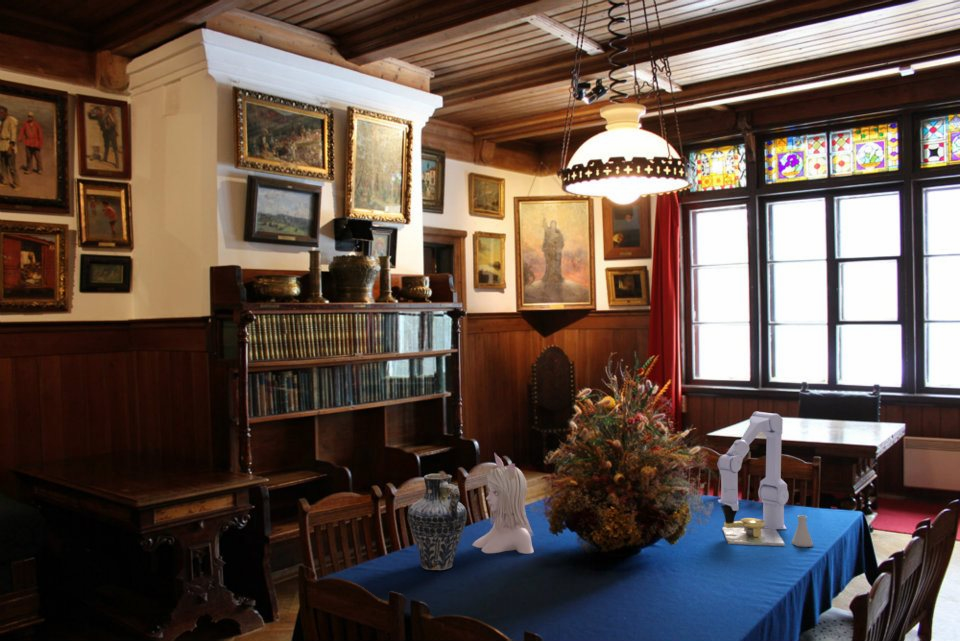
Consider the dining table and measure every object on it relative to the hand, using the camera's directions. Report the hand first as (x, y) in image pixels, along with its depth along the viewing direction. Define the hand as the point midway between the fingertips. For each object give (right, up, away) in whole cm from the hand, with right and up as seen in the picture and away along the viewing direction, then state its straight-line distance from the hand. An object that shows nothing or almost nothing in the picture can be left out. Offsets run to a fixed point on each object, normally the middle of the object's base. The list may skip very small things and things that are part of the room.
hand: (729, 525), depth 284 cm
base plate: (+8, -4, 0) cm, 9 cm away
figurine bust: (-82, -6, -4) cm, 82 cm away
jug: (-104, -7, -27) cm, 108 cm away
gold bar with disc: (+5, -3, -1) cm, 6 cm away
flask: (+23, -5, -9) cm, 25 cm away
